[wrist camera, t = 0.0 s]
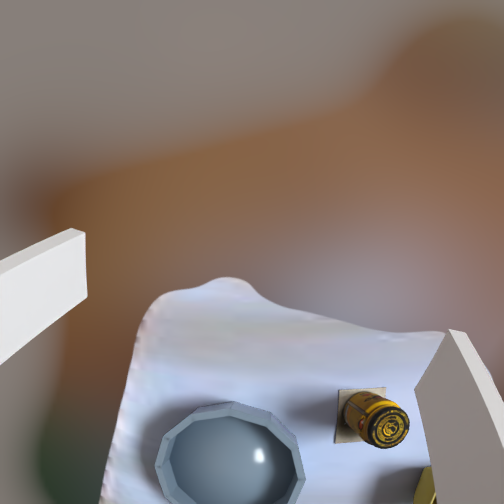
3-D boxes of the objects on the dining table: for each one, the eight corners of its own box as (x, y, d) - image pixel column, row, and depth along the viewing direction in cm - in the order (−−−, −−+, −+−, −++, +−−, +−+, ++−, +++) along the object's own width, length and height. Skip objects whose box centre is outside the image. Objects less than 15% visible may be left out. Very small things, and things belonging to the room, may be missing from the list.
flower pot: (400, 502, 35) (420, 525, 26) (416, 458, 37) (441, 476, 29) (442, 498, 34) (466, 517, 25) (457, 455, 36) (485, 469, 28)
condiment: (385, 387, 41) (419, 398, 30) (381, 439, 39) (411, 463, 27) (339, 389, 42) (361, 404, 30) (334, 442, 39) (353, 472, 28)
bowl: (311, 503, 37) (314, 517, 32) (186, 519, 36) (179, 533, 32) (284, 390, 42) (286, 396, 37) (153, 412, 42) (140, 419, 37)
